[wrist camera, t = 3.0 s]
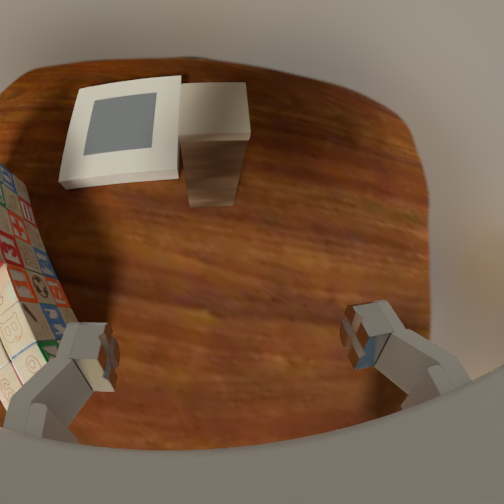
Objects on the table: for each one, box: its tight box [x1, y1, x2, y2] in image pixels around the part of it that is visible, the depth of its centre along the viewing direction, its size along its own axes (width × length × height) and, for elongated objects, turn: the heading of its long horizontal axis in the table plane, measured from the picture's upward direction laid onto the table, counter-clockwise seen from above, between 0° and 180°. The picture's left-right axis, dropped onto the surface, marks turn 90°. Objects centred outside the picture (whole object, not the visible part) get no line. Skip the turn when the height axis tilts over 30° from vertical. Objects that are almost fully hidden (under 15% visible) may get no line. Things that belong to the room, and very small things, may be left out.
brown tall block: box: [178, 82, 251, 208], centre depth 22 cm, size 4×4×12 cm
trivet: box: [58, 75, 182, 190], centre depth 27 cm, size 12×12×2 cm
